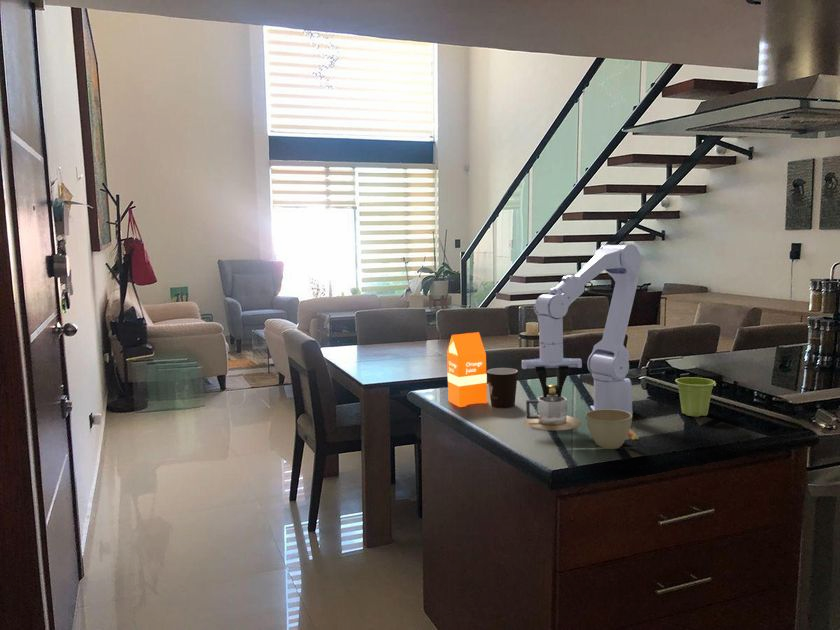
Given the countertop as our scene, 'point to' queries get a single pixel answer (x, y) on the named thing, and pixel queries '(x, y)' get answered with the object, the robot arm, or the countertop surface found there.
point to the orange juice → (466, 370)
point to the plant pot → (695, 395)
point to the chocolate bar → (632, 435)
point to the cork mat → (570, 424)
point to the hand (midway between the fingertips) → (551, 396)
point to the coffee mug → (502, 387)
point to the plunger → (552, 390)
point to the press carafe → (549, 410)
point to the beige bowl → (609, 427)
